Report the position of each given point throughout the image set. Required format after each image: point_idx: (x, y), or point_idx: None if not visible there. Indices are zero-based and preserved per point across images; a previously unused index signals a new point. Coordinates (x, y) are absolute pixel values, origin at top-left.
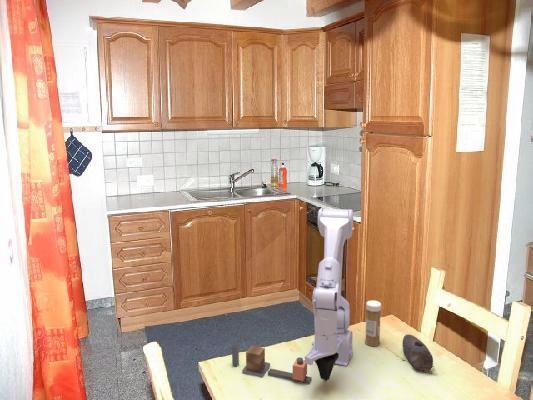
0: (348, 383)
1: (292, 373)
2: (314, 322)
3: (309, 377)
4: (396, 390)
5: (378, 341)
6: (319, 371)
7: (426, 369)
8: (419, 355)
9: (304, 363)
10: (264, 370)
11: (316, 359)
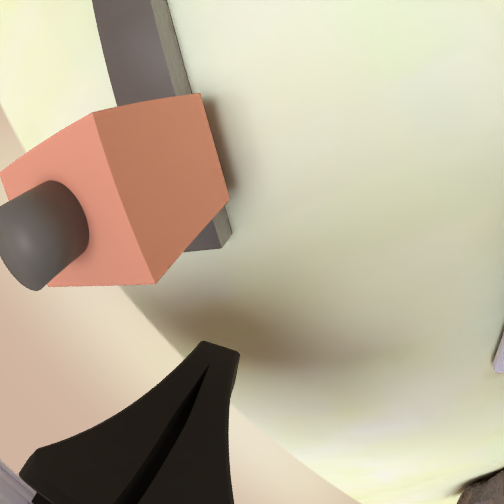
0: (329, 404)
1: (162, 74)
2: None
3: (207, 234)
4: (354, 480)
5: None
6: (170, 378)
7: (458, 500)
8: None
9: (92, 272)
10: None
11: (15, 477)
